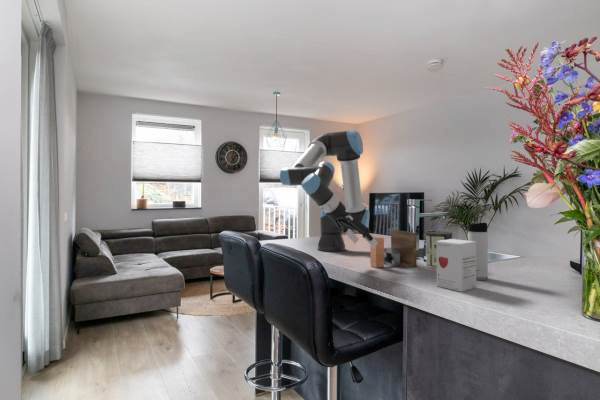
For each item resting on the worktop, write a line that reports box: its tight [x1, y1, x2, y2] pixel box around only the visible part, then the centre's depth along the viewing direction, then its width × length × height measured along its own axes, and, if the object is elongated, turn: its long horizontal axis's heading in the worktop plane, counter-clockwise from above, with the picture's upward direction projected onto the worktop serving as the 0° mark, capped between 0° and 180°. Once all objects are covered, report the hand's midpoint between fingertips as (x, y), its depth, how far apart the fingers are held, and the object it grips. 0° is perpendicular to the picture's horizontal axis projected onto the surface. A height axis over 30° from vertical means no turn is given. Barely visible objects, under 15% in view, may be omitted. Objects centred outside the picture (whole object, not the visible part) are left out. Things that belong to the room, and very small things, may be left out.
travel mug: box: [467, 222, 489, 281], centre depth 127 cm, size 6×7×20 cm
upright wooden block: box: [369, 236, 402, 269], centre depth 152 cm, size 14×4×12 cm, turn 114°
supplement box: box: [436, 238, 477, 292], centre depth 116 cm, size 9×9×15 cm
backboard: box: [390, 229, 418, 269], centre depth 155 cm, size 5×14×14 cm, turn 24°
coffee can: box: [425, 231, 453, 269], centre depth 149 cm, size 10×10×14 cm
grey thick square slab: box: [384, 247, 401, 268], centre depth 153 cm, size 3×7×7 cm, turn 24°
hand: (365, 243), depth 147 cm, fingers open, 13 cm apart
